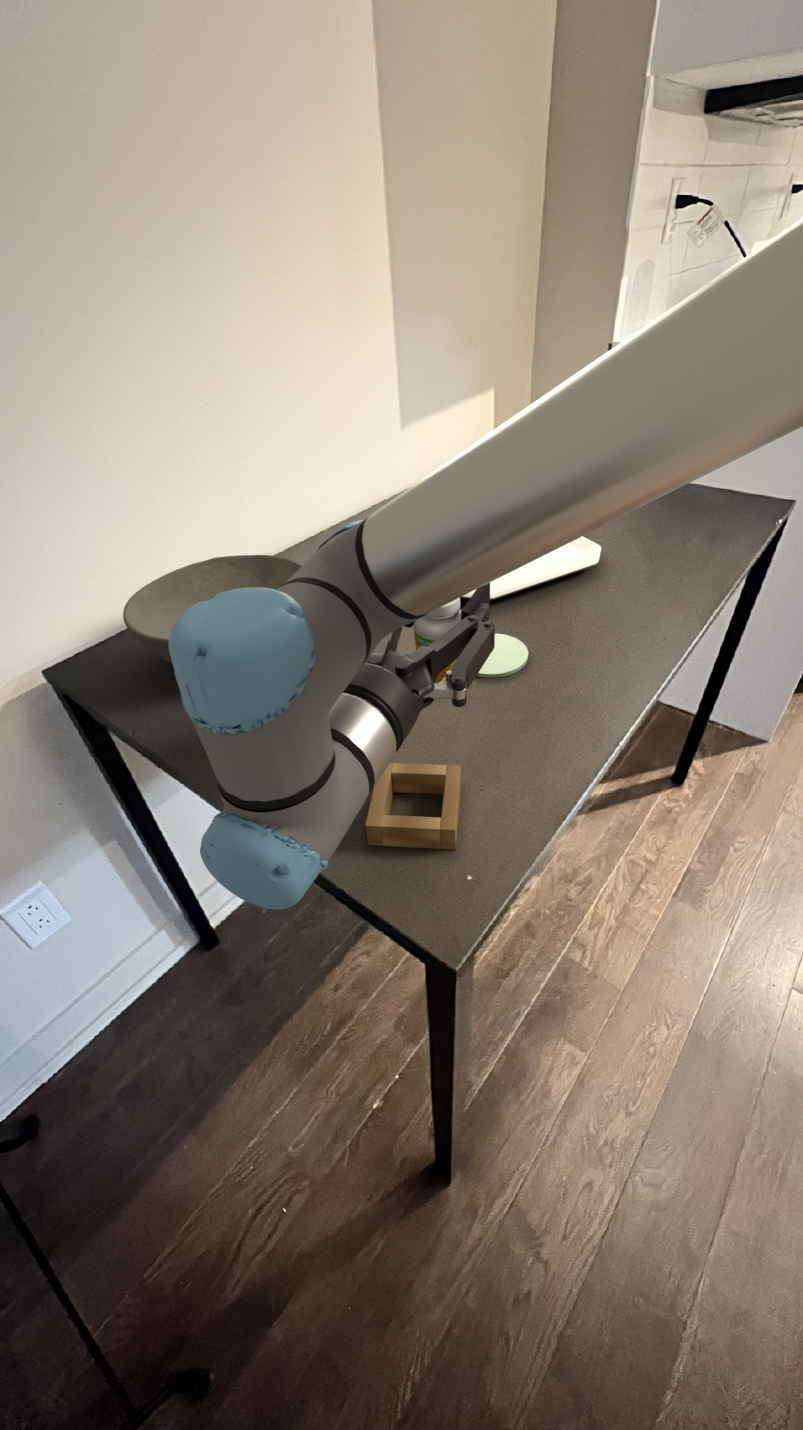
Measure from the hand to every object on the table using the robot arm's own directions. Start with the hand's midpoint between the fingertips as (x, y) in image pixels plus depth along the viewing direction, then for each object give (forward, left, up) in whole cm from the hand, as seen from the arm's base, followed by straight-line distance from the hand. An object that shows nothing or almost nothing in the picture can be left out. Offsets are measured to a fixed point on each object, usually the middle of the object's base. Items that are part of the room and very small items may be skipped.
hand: (458, 588), depth 65 cm
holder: (+4, +15, -18) cm, 24 cm away
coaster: (-3, -14, -18) cm, 23 cm away
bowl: (+34, -15, -18) cm, 42 cm away
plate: (-3, -44, -18) cm, 47 cm away
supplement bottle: (+1, +5, -8) cm, 10 cm away
